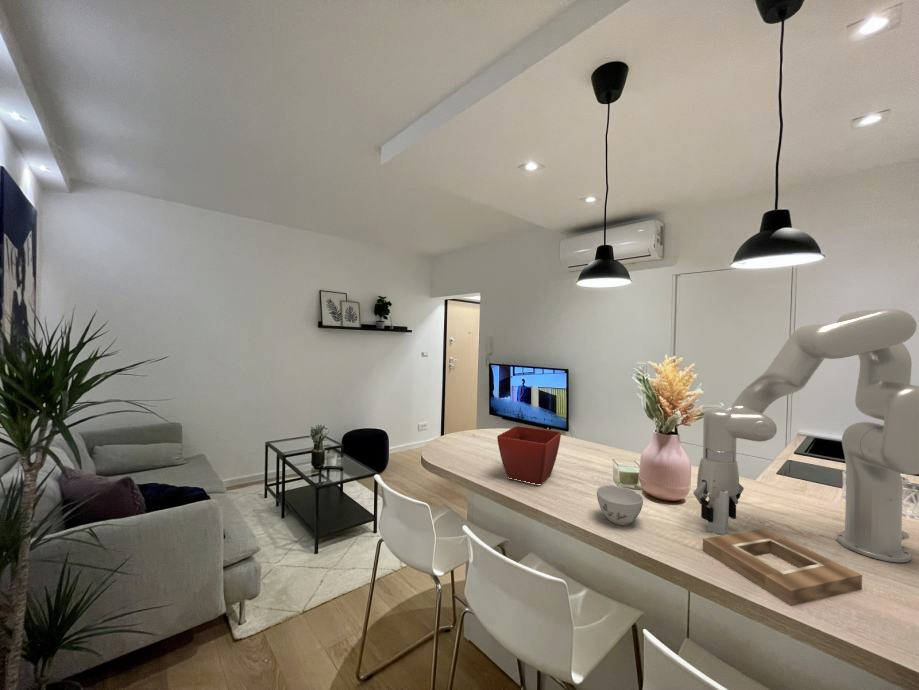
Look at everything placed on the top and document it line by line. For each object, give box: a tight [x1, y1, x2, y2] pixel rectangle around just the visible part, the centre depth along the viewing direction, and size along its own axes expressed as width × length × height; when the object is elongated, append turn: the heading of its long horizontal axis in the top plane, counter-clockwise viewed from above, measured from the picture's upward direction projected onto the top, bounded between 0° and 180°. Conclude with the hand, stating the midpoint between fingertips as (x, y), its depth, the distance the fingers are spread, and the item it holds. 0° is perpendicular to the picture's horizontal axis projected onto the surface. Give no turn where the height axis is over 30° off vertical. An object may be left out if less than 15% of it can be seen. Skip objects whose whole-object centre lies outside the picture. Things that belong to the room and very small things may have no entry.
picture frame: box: [702, 528, 863, 606], centre depth 87 cm, size 20×20×3 cm
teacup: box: [596, 484, 644, 526], centre depth 110 cm, size 15×12×8 cm
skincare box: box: [706, 490, 730, 536], centre depth 104 cm, size 6×4×12 cm
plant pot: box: [496, 425, 562, 485], centre depth 143 cm, size 19×19×17 cm
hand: (718, 517), depth 104 cm, fingers closed on skincare box, 7 cm apart
